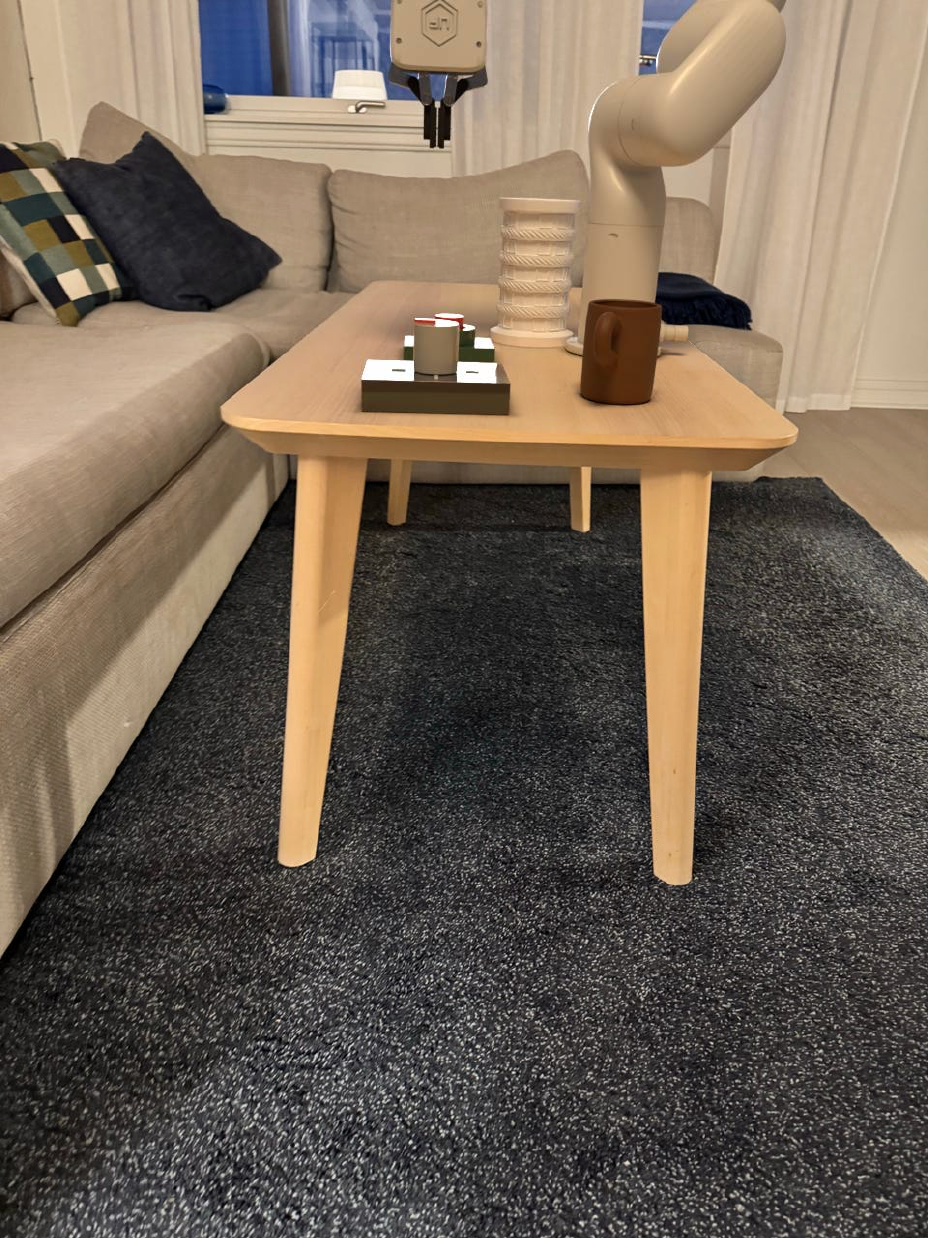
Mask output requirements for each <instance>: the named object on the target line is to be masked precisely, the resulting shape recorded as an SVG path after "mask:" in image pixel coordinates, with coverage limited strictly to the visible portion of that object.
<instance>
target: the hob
mask: <svg viewBox="0 0 928 1238" xmlns="http://www.w3.org/2000/svg"><path fill="white" fill-rule="evenodd" d="M360 382H361V383H360V385H361V386H360V387H361V388H360V391H361V392H360V395H361V397H360V398H361V412H375V413H381V412H382V413H415V414H453V415H454V414H455V415H456V414H457V415H493V416H494V415H495V416H509V415H510V403H511V387H512V384H511V381H510V378H509V376H508V374H507V371H506V369H505V367H504V365H503V363H495V362H494V363H487V362H458V371H457V372H456V373H453V374H446V375H432V374H423V373H418V372H416V371H414V370H413V360H381V359H367V360H366V363H365V367H364V370H363V372H362V377H361V379H360Z"/></svg>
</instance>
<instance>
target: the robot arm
mask: <svg viewBox="0 0 928 1238" xmlns="http://www.w3.org/2000/svg"><path fill="white" fill-rule="evenodd" d="M786 2H787V0H695V2H694V3H693V4H692V5H691V6H690V7H689V8H688V9H687V10H686V12H684V13H683V14H682V16H681V17H680V18H678V20H677V21H675V23H674V24H673V25H672V27H671V28H670V29H669V31H668V32H667V33H666V34H665V37H664V38H663V39H662V41H661V43H660V46H659V48H658V51H657V56H656V63H655V70H656V73H648V74H640V75H639V74H638V75H634V76H633V75H632V76H628V77H625V78H621V79H618V80H616V81H615V82H613V83H611V84H610V85H609V86H607V87H606V88H605V89H604V90H603V91H602V92H601V93H600V94H599V96H598V97H597V98H596V100H595V101H594V103H593V105H592V109H591V111H590V115H589V119H588V128H587V144H588V154H589V155H588V157H589V169H590V170H589V171H590V174H589V175H590V186H589V203H588V216H587V224H586V225H587V227H586V237H585V249H584V261H583V270H582V271H583V272H582V283H581V295H580V297H581V298H580V306H579V307H580V308H579V317H578V318H579V319H578V330H577V336H573V338H569V339H567V340H566V344H565V346H564V348H565V350H566V351H568V352H569V353H572V354H574V355H578V356H582V355H583V343H584V332H585V322H586V316H587V310H588V303H589V302H590V301H592V300H600V299H626V300H639V301H647V302H652V303H656V296H657V290H658V289H657V288H658V279H659V271H660V264H661V263H660V262H661V256H662V247H663V238H664V230H665V223H666V216H667V215H666V213H667V191H666V184H665V178H664V174H663V169H662V168H664V167H665V168H666V167H667V168H671V167H672V168H675V167H683V166H684V167H685V166H688V165H690V164H693V163H695V162H696V161H699V160H700V159H701V158H703V157H704V156H706V155H707V154H708V153H709V152H710V151H711V150H712V149H713V148H714V147H716V146H717V144H719V142H720V141H721V140H722V139H723V138H724V137H725V136H726V135H727V134H728V133H729V131H730V130H731V129H732V128H733V127H734V126H735V125H736V124H737V123H738V121H740V120H741V118H742V117H743V116H744V115H745V114H746V113H747V112H748V111H749V110H750V108H752V106H753V105H754V104H755V103H756V102H757V101H758V100H759V99H760V98H761V96H762V95H763V94H764V93H765V92H766V90H767V89H768V88H769V86H770V85H771V84H772V82H773V81H774V79H775V77H777V74H778V72H779V69H780V67H781V64H782V62H783V59H784V55H785V50H786V43H787V35H786V33H787V32H786V25H785V22H784V19H783V17H782V15H781V13H782V12H783V9H784V7H785V5H786ZM488 8H489V7H488V0H391V2H390V23H389V24H390V26H389V27H390V28H389V52H390V63H389V64H390V65H389V70H388V73H387V79H388V82H389V83H391V84H392V85H395V86H398V87H401V88H403V89H407V90H410V91H411V92H412V94H413V95H414V96H415V97H416V99H417V100H418V101H419V103H421V105H422V106H423V140H424V141H429V149H435V148H436V147H437V148H438V149H440V150H441V149H442V150H443V149H445V141H447V142H448V141H449V142H451V139H452V138H451V135H452V107H453V106H454V105H455V104H456V103H457V102H458V101H459V100H460V99H461V97H463V95H464V94H465V93H466V92H470V91H476V90H479V89H483V88H485V87H487V85H488V83H489V79H488V73H487V66H486V64H487V58H488V39H489V38H488V31H489V30H488V29H489V27H488V25H489V23H488V21H489V20H488V19H489V17H488V16H489V15H488V10H489V9H488ZM410 74H414V75H410ZM415 74H416V75H417V77H416V76H415ZM431 75H437V76H446V77H445V84H444V90H443V97H442V98H441V99H440V100H439V107H436V99H435V98H434V97H433V92H432V83H431ZM459 76H460V77H461V76H462V77H463V76H464V77H463V78H460V79H459ZM465 76H466V77H465ZM688 337H689V326H688V325H683V324H682V325H680V324H679V325H678V324H665V323H664V322H661V331H660V339H659V343H663V342H664V340H666V341H677V342H678V341H679V342H680V341H681V342H682V341H683V342H685V341H688ZM661 354H662V345H661V344H659V347H658V355H657V357H659V356H660V355H661Z"/></svg>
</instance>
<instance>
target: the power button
mask: <svg viewBox="0 0 928 1238" xmlns="http://www.w3.org/2000/svg"><path fill="white" fill-rule="evenodd" d="M464 318H465V316H464V315H462V314H455V313H438V314H435V315H434V319H436V320H447V321H453V322H457V323H459V329H463V328H464V325H465V319H464Z"/></svg>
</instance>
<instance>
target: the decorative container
mask: <svg viewBox="0 0 928 1238" xmlns="http://www.w3.org/2000/svg"><path fill="white" fill-rule="evenodd" d="M582 202H583V201H582V200H578V199H577V200H576V199H563V198H561V199H559V198H538V197H537V198H535V197H499V199H498V209H499V210H500V211H501V210H502V212H503V215H502V216H503V217H502V218H503V219H502V225H501V226H500V230H499V233H500V238H501V250H500V251H499V254H498V260H499V264H500V275H499V276H498V279H497V286H498V289H499V298H498V299H499V300H497V303H496V312H497V314H498V320H497V325H495V326H493V327H491V328H490V335H489V338H490V339H491V341H492V342H493V343H498V344H500V345H506V346H513V347H524V348H560V347H565V344H566V340H567V339H569V338H573V337H574V332H573V331H572V330H570V329H568V328H567V322H568V316H569V315H570V312H571V305H570V303H569V298H570V292H571V291H572V287H573V281H572V279H571V273H572V272H571V271H572V267H573V266H574V262H575V256H574V254H573V247H574V241H576V237H577V228H575V222H576V214H579V213H581V212H582Z"/></svg>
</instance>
